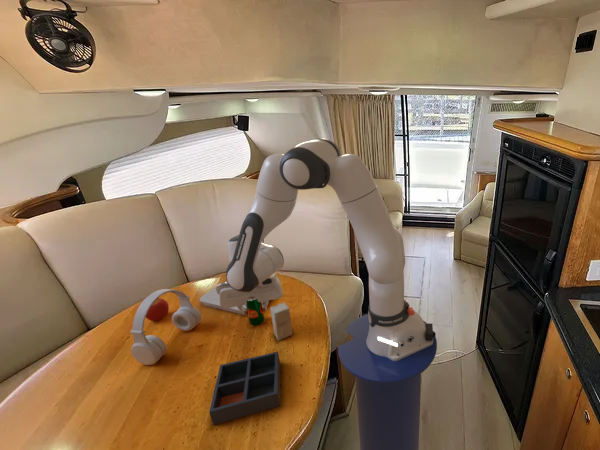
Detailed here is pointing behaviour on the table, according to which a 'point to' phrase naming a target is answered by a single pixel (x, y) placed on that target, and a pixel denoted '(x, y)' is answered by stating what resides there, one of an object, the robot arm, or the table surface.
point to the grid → (246, 388)
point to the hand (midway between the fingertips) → (255, 311)
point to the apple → (158, 310)
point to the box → (281, 321)
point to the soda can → (255, 311)
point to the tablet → (213, 301)
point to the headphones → (152, 346)
